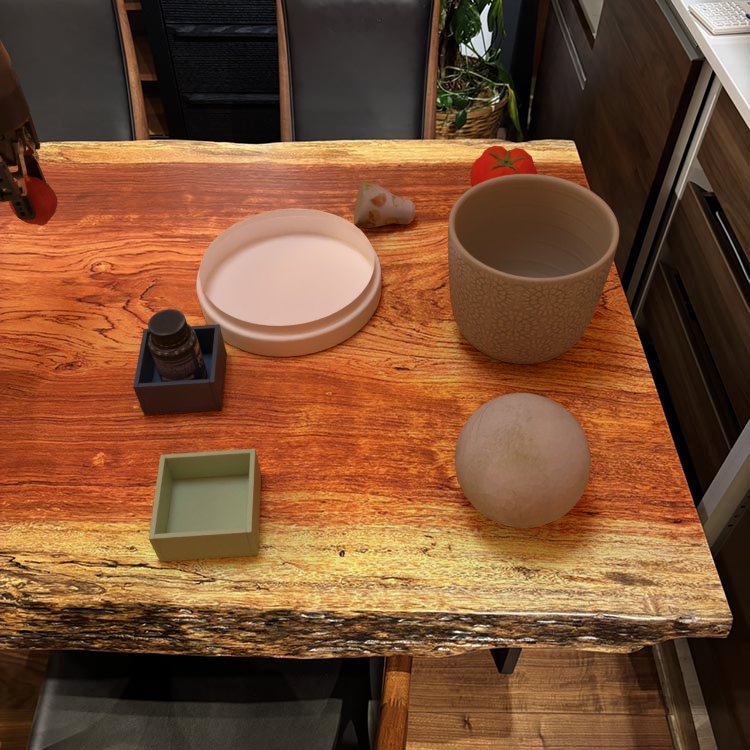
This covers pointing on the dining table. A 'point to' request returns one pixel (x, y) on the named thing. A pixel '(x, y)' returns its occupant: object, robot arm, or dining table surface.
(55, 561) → the dining table surface
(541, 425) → the decorative sphere
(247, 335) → the plate
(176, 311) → the pill bottle
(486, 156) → the tomato
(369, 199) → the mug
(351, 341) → the dining table surface
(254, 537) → the box
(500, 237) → the planter
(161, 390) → the bin
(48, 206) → the onion
